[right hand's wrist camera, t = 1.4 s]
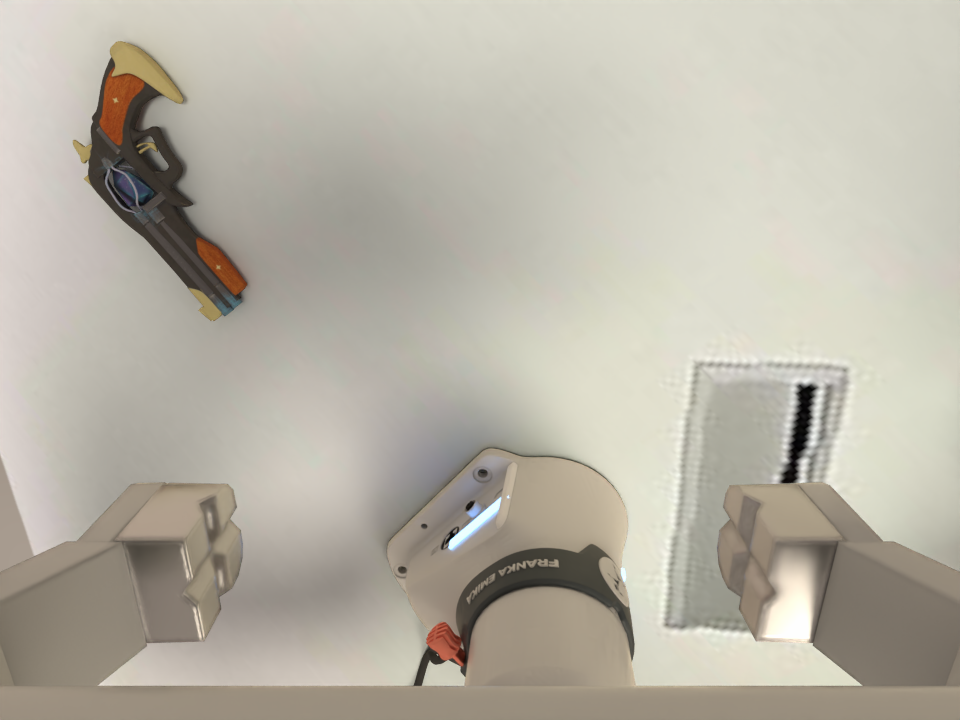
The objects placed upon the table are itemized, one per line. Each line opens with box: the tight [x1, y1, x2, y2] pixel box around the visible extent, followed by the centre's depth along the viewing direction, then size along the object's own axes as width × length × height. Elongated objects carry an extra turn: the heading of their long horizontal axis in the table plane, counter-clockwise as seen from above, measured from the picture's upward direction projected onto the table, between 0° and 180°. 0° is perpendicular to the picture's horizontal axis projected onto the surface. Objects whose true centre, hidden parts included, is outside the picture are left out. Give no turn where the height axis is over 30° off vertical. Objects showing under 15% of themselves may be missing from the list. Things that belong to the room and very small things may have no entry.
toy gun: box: [73, 41, 247, 321], centre depth 48 cm, size 3×19×10 cm
